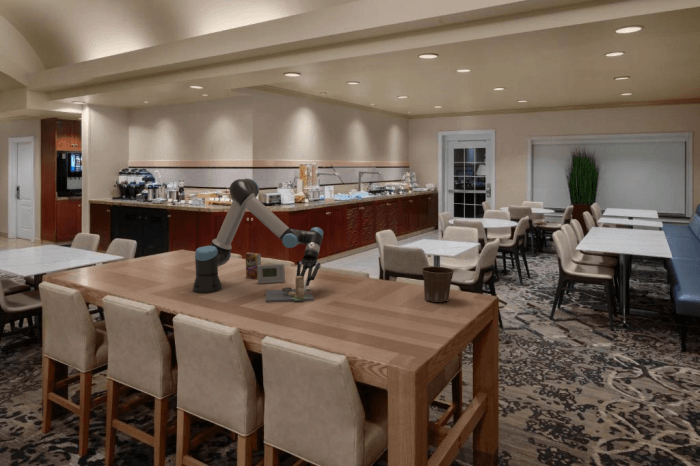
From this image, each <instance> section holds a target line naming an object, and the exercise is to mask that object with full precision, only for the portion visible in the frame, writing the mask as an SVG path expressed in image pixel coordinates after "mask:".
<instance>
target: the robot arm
mask: <svg viewBox="0 0 700 466" xmlns="http://www.w3.org/2000/svg"><path fill="white" fill-rule="evenodd" d="M259 193H260V188H259V185H258V183H257V181H255V180H254V179H251V178H238V179H235V180H234V181H233V182H231V184H230V185H229V194H230V196H231V197H230V199H231V201H232V202H231V204H230V206H229V209H228V211H227V213H226V216H225V218H224V220H223V222H222V225H221V227H220V230H219V231H218V233H217V237H216V238H213V239H212V241H211V242H210V245H205V246H200V247H198V248H195V249H196V250H195V251H194V253H195V254H194V261H195V263H194V264H195V279H194V282H193V285H192V291H193V292H194V293H201V294H202V293H203V294H206V293H215V292H219V291H221V290H222V288H223V287H222V283H221V279H220V278H219V277H220V276H219V267H221V266H223V265H225V264H226V263H227V262H228V261H229V260H230V259H231V255H232V253H231V250H232V248H233V247H232V242H233V240H234V237H235V236H236V233H237V231H238V228H239V226H240V224H241V222H242V220H243V217H244V215H245V213H246V210H247V211H249V212H250V213H251V214H252V215H253V216H254V217H256V218H257V219H258V220H259V222H261V223H262V224H263V225H264V226H265V227H266V228H268V229H269V231H270V232H272V233H273V234H274V235H275V236H276V237H277V238H279V239H280V240H281V242H282V245H283V246H284V247H285V248H288V249H292V248H295V247H296V246H298V245H306V246H305V250H304V254H303V257H302V259H301V260H300V261H296V265H297V267H296V276H295V278H296V277H297V276H302V277H304V292H306V289H308V287H309V286H310V283H311V281H315V278H316V276H317V274H318V271H319V269H320V268H321V267H322V266H321V263H320V262H318V258H319V254H320V249H321V245H322V242H323V239H324V230H323V229H322V228H320V227H319V226H318V227H317V226H315V227H311V229H310V230H303V229H302V230H301V229H295V228H294V229H292V228H290V227H289V226H288V225H287V224H286V223H284V221H282V220H281V219H280V218H279V217H278V216H277V215H276V214H275V213H274V212H272V211H271V210H270V209H269V208H268V207H267V206H266V205H265V204H264V203H263V202H261V201H260V200H259V198H258V195H259ZM301 267H302V268H301ZM301 269H302V270H301ZM307 270H308V271H307ZM306 272H307V277H306V278H305V275H306Z"/></svg>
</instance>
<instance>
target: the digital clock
mask: <svg viewBox="0 0 700 466" xmlns="http://www.w3.org/2000/svg"><path fill="white" fill-rule="evenodd" d="M257 276H258V279H257V284H259V285H262V284H263V285H268V284H269V285H271V284H281V283H285V282H286V272H285V264H284V263H270V264H269V263H267V264H261V265H258V266H257Z"/></svg>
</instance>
